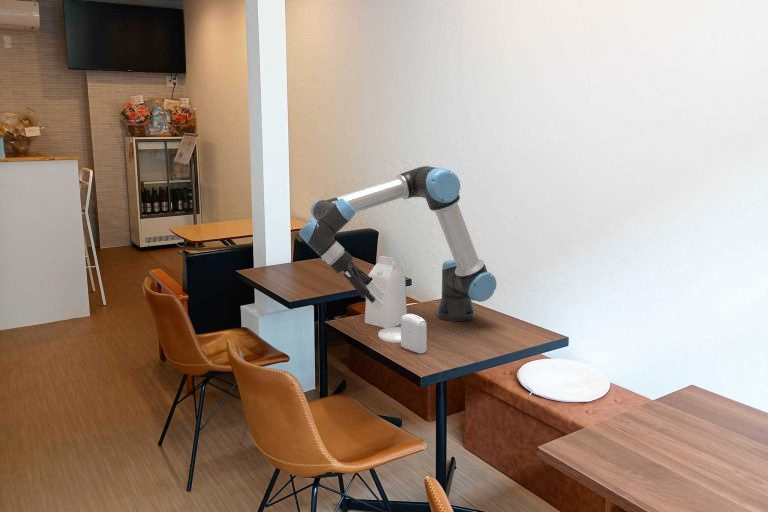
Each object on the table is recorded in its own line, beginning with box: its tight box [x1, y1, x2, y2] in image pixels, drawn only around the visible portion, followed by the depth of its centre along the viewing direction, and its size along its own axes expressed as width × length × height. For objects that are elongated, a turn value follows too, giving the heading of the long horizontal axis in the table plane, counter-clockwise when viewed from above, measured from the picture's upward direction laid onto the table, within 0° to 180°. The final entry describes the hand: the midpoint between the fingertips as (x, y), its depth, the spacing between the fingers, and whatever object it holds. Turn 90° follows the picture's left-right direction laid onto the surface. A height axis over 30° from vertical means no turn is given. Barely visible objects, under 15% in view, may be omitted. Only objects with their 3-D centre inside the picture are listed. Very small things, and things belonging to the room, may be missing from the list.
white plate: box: [377, 326, 401, 344], centre depth 239 cm, size 15×15×1 cm
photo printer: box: [400, 313, 428, 354], centre depth 224 cm, size 10×4×12 cm, turn 39°
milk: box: [364, 255, 408, 329], centre depth 254 cm, size 12×12×26 cm
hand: (381, 302), depth 222 cm, fingers open, 13 cm apart
